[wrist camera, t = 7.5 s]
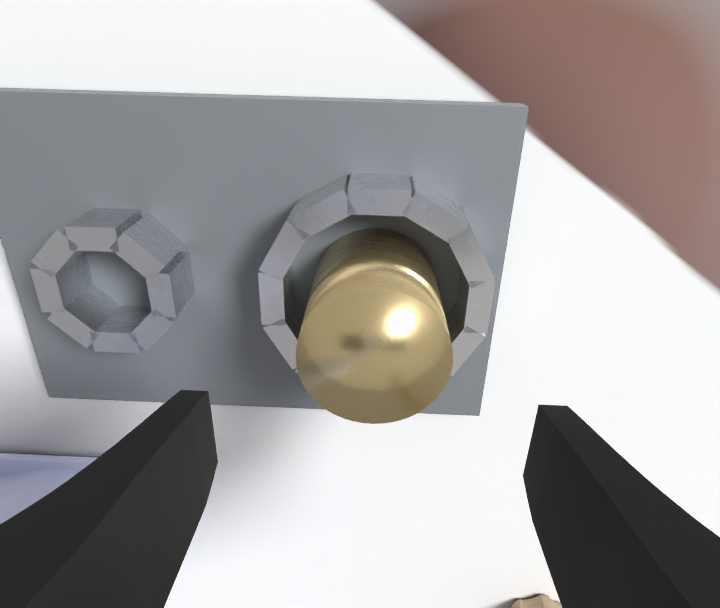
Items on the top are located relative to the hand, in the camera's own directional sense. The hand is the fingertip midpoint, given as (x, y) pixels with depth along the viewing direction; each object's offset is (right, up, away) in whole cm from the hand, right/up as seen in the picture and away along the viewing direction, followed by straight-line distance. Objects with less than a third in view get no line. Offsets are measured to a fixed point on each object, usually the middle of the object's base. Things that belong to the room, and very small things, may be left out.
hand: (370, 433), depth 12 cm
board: (-4, +4, +8) cm, 10 cm away
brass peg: (0, +4, +7) cm, 8 cm away
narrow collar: (-9, +5, +8) cm, 13 cm away
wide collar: (0, +4, +8) cm, 9 cm away
